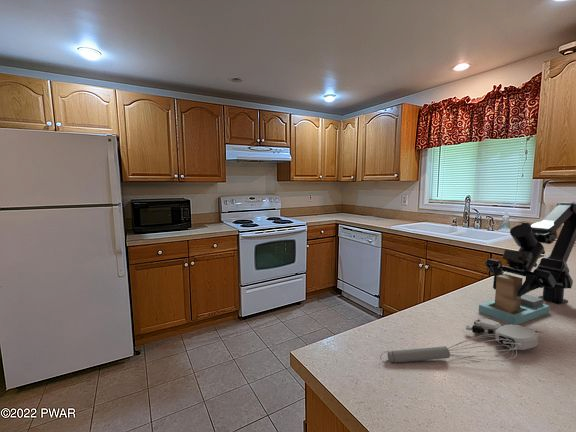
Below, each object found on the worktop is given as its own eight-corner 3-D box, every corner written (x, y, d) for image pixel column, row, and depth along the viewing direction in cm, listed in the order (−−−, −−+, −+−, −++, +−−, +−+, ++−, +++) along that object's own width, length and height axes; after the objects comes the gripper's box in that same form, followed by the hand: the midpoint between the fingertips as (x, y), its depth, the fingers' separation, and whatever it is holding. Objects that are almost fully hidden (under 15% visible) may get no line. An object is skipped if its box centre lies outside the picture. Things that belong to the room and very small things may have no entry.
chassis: (512, 301, 105) (513, 289, 105) (549, 312, 95) (550, 300, 95) (478, 311, 97) (479, 299, 97) (514, 325, 87) (515, 311, 87)
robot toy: (462, 337, 83) (524, 360, 70) (462, 322, 83) (523, 342, 70) (485, 326, 89) (546, 346, 75) (485, 312, 89) (546, 330, 75)
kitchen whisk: (376, 355, 74) (376, 332, 73) (503, 352, 74) (505, 329, 73) (384, 370, 67) (385, 345, 67) (523, 367, 68) (525, 342, 67)
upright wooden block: (503, 310, 98) (505, 274, 96) (519, 316, 93) (522, 278, 92) (494, 312, 96) (496, 275, 94) (510, 319, 91) (513, 280, 90)
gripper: (489, 236, 102) (467, 270, 99) (553, 246, 85) (530, 287, 82) (501, 255, 106) (480, 288, 103) (565, 268, 89) (543, 308, 86)
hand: (505, 292), depth 93 cm, fingers open, 7 cm apart
